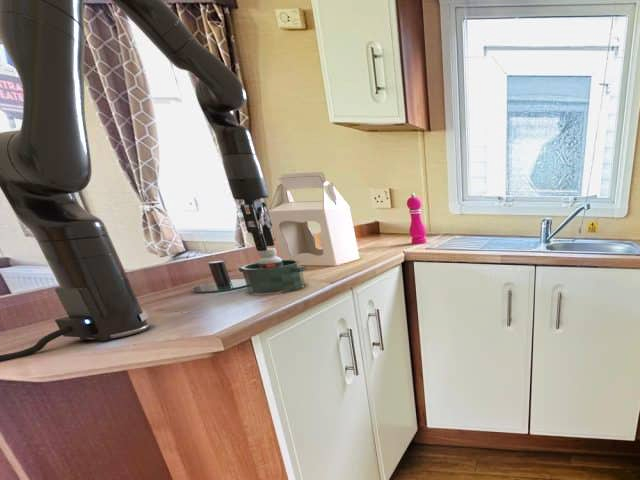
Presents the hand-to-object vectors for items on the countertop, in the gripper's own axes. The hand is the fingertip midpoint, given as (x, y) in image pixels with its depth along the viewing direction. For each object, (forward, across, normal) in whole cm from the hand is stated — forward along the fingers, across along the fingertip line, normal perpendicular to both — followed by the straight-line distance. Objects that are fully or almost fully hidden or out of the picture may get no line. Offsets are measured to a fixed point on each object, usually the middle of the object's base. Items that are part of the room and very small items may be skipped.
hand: (266, 248), depth 106 cm
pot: (+10, 0, 0) cm, 10 cm away
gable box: (+11, -41, +7) cm, 43 cm away
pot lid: (+10, -7, -14) cm, 19 cm away
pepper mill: (+11, -74, +43) cm, 86 cm away
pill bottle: (+10, 0, 0) cm, 10 cm away
